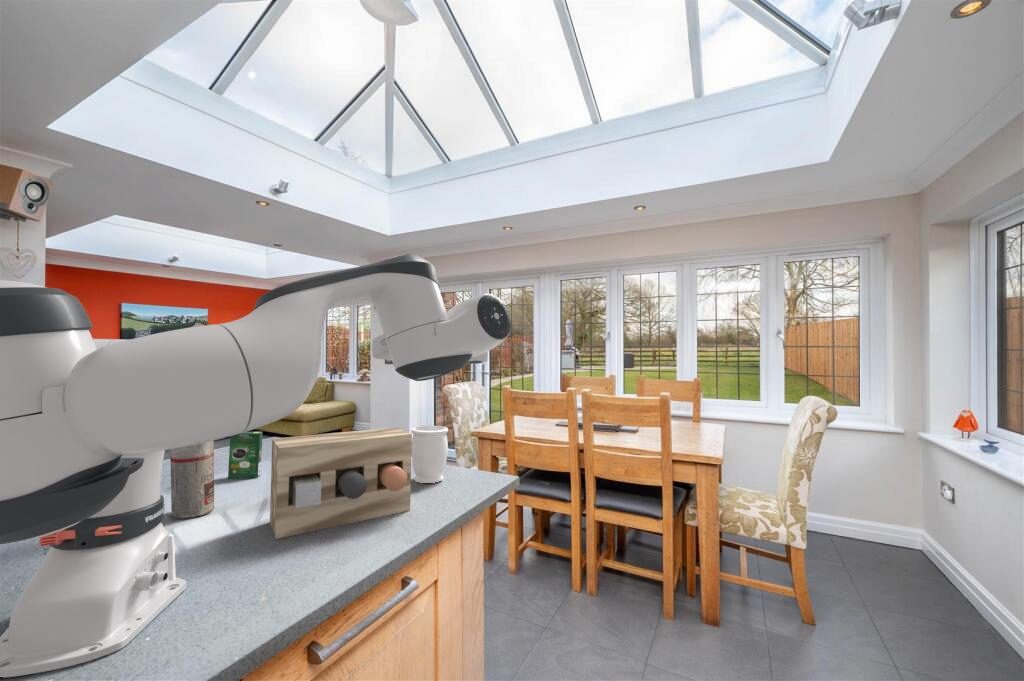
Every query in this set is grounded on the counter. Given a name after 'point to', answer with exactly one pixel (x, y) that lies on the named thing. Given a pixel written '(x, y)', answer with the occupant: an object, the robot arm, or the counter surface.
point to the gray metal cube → (306, 491)
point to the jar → (429, 453)
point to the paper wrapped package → (192, 480)
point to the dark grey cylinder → (351, 483)
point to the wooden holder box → (328, 462)
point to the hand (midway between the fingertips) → (413, 358)
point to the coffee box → (245, 455)
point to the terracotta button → (392, 477)
